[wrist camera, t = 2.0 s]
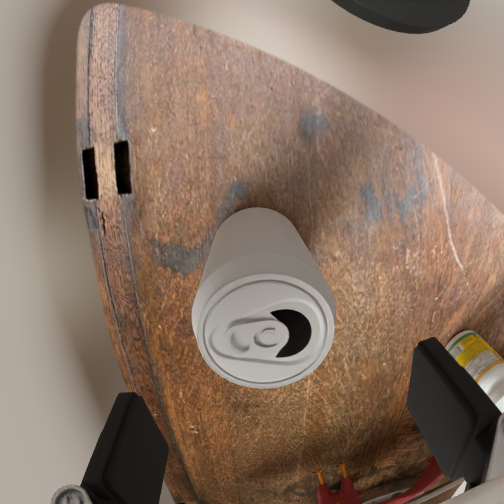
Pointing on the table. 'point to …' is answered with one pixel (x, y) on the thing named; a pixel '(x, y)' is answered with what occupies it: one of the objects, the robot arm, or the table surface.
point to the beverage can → (262, 303)
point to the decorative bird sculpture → (347, 497)
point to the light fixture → (402, 491)
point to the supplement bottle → (480, 363)
